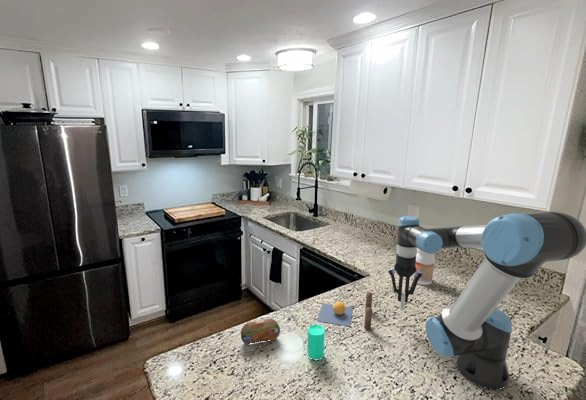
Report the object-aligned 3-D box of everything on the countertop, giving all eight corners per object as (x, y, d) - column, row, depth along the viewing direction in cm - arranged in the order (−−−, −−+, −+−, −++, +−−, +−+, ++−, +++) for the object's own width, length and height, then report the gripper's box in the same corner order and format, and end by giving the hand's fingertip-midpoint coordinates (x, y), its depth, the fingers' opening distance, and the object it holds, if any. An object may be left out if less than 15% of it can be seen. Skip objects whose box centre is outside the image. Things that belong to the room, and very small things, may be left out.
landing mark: (350, 326, 127) (350, 326, 127) (317, 321, 130) (317, 320, 130) (352, 308, 140) (352, 307, 140) (322, 303, 143) (322, 303, 143)
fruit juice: (426, 287, 159) (432, 237, 153) (409, 280, 166) (414, 232, 160) (435, 282, 165) (441, 233, 158) (418, 275, 172) (423, 228, 165)
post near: (370, 330, 124) (372, 311, 122) (364, 329, 125) (365, 310, 123) (370, 327, 127) (372, 307, 125) (364, 326, 127) (365, 306, 125)
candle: (313, 346, 115) (314, 318, 112) (326, 354, 111) (327, 325, 108) (303, 355, 110) (304, 326, 107) (317, 363, 106) (318, 333, 104)
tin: (241, 347, 114) (240, 327, 113) (240, 341, 117) (239, 322, 116) (280, 340, 118) (280, 321, 116) (278, 335, 121) (278, 316, 119)
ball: (329, 310, 134) (337, 319, 133) (338, 304, 131) (347, 313, 131) (331, 303, 139) (339, 312, 138) (340, 297, 136) (348, 306, 136)
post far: (371, 313, 136) (372, 295, 134) (365, 312, 137) (366, 294, 135) (371, 310, 138) (372, 292, 136) (365, 309, 139) (366, 291, 137)
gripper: (422, 252, 123) (417, 305, 128) (388, 249, 127) (385, 301, 131) (425, 259, 116) (420, 315, 121) (389, 256, 119) (385, 311, 124)
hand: (401, 308), depth 126 cm, fingers closed
